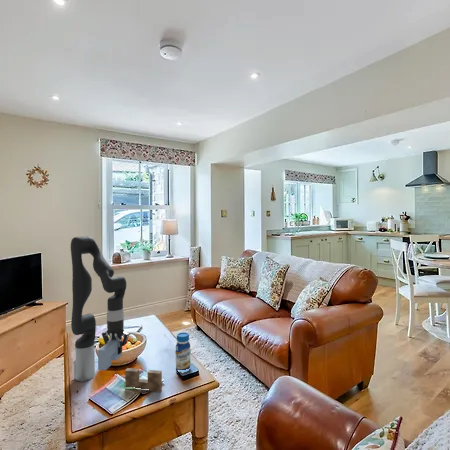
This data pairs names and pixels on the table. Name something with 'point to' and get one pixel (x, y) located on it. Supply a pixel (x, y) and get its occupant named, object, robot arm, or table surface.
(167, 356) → the table surface
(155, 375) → the u-shaped brown bracket
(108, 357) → the grey block
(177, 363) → the beverage bottle
